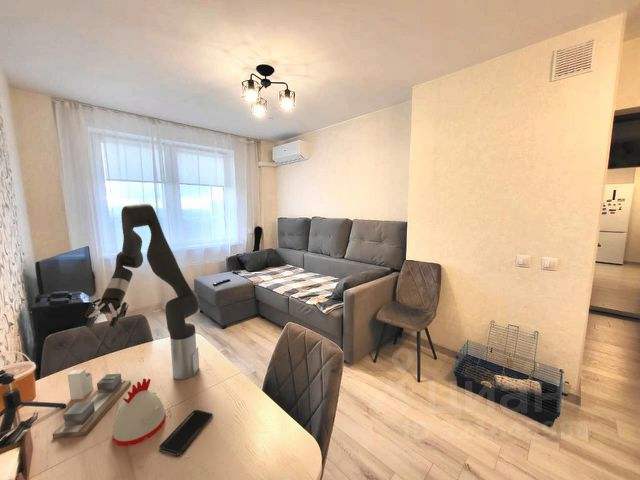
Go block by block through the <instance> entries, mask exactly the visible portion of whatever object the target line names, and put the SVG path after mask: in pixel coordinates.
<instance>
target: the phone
mask: <svg viewBox="0 0 640 480" xmlns="http://www.w3.org/2000/svg"><path fill="white" fill-rule="evenodd" d="M213 416H214V414H213V413H212V412H207V411H203V410H200V409H194V410H193V411H192V412H191V413H189V414H188V415H187V417H186V418H185V419H183V421H182V422H181V423H180V424H179V425H178V426H177V427H175V429H174V430H173V431H172V432H171V433H170V434H169V436H168V437H166V439H164V441H163V442H161V444H160V445H159V446H158V451H159V452H161V453H163V454H166V455H170V456H173V457H176V458H179V457H181V456H183V454H184V453H185V452H186V451H187V450H188V448H189V447H190V446H191V445H192V444H193V442H194V441H195V440H196V439H197V437H198V436H199V435H200V434H201V433H202V432H203V430H205V428H206V427H207V425H209V423H210V422H211V421H212V420H213V418H214V417H213Z"/></svg>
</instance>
